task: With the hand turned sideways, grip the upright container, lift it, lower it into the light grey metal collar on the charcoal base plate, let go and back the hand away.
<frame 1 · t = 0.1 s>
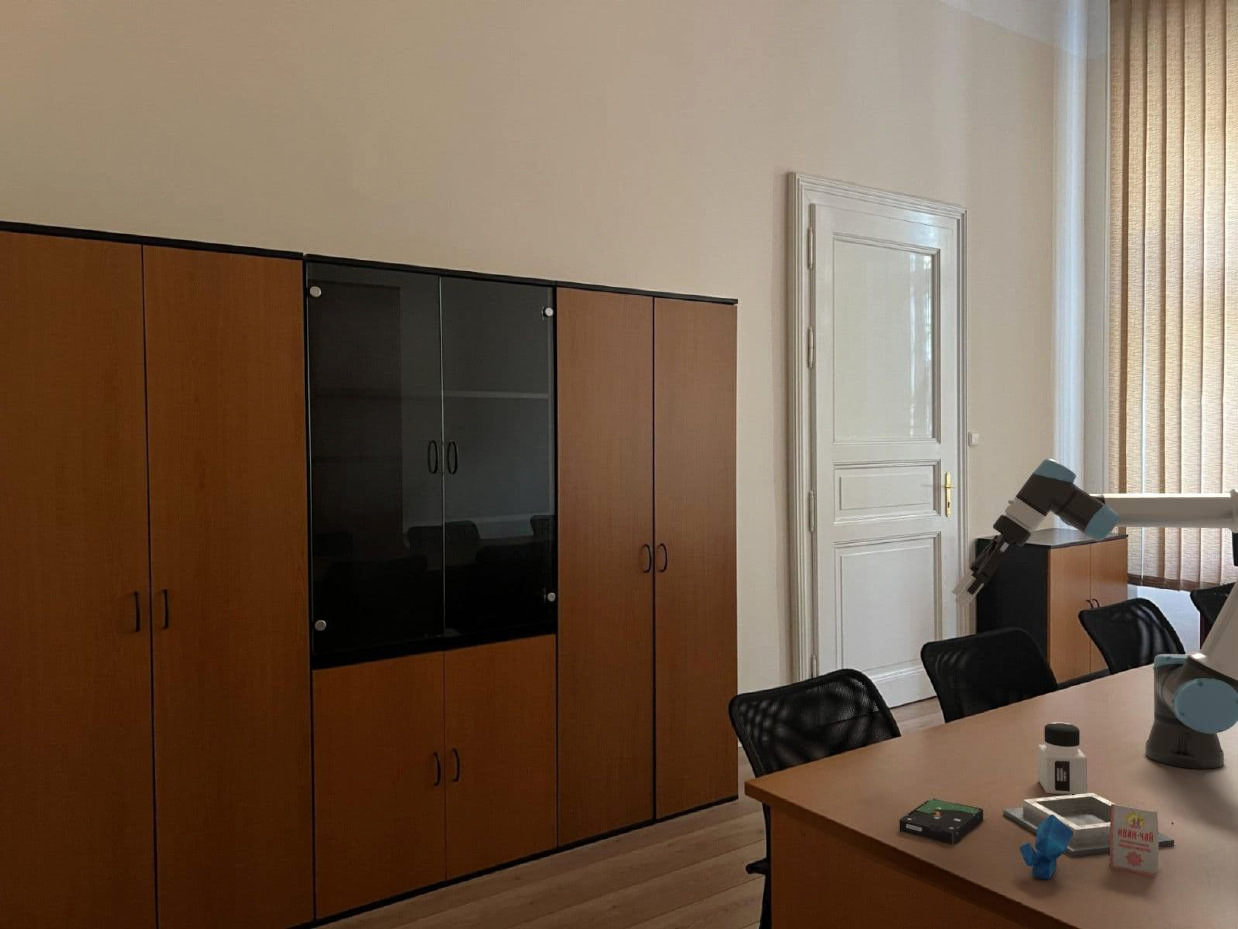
hand: (958, 600, 218), 36 cm above the table, tool tilted 35°, fingers open, 13 cm apart
blue lump: (1046, 873, 161), on the table
tea bag: (1134, 869, 163), on the table
container: (1062, 789, 200), on the table
collar plate: (1085, 829, 179), on the table
disk drive: (941, 829, 182), on the table
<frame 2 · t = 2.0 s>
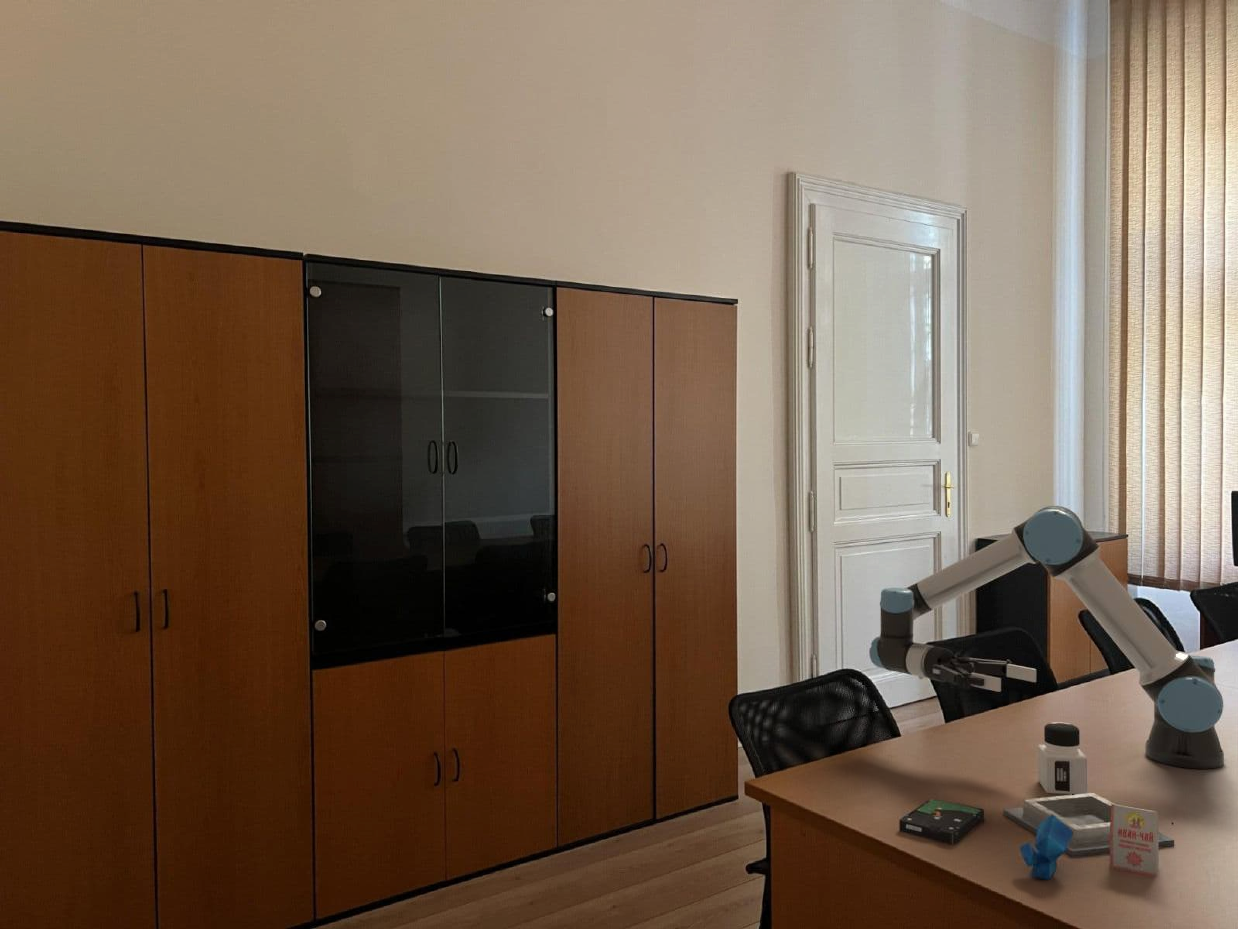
hand: (1018, 680, 208), 20 cm above the table, tool horizontal, fingers open, 13 cm apart
nothing on the table moved.
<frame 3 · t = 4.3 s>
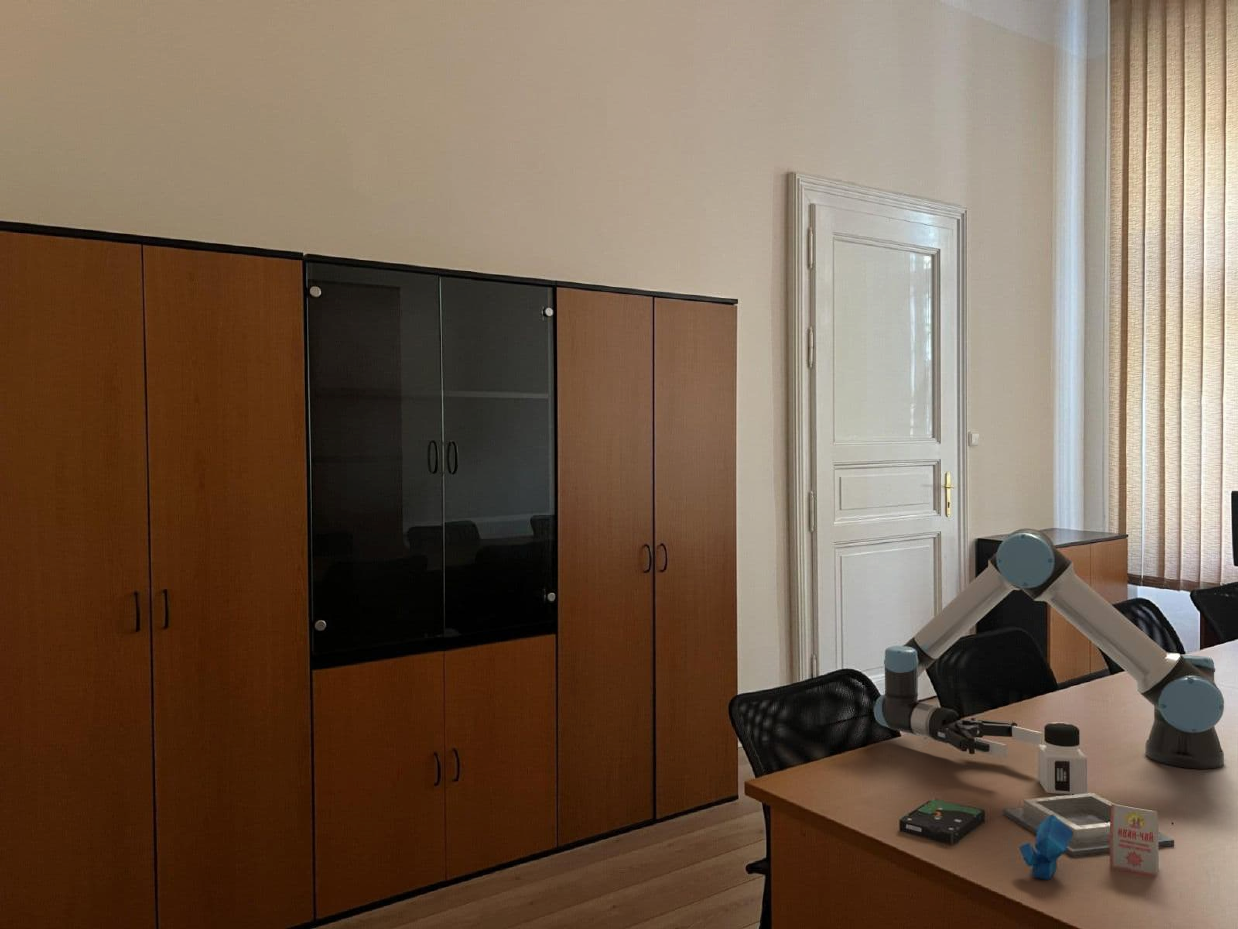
hand: (1023, 745, 207), 7 cm above the table, tool horizontal, fingers open, 13 cm apart
nothing on the table moved.
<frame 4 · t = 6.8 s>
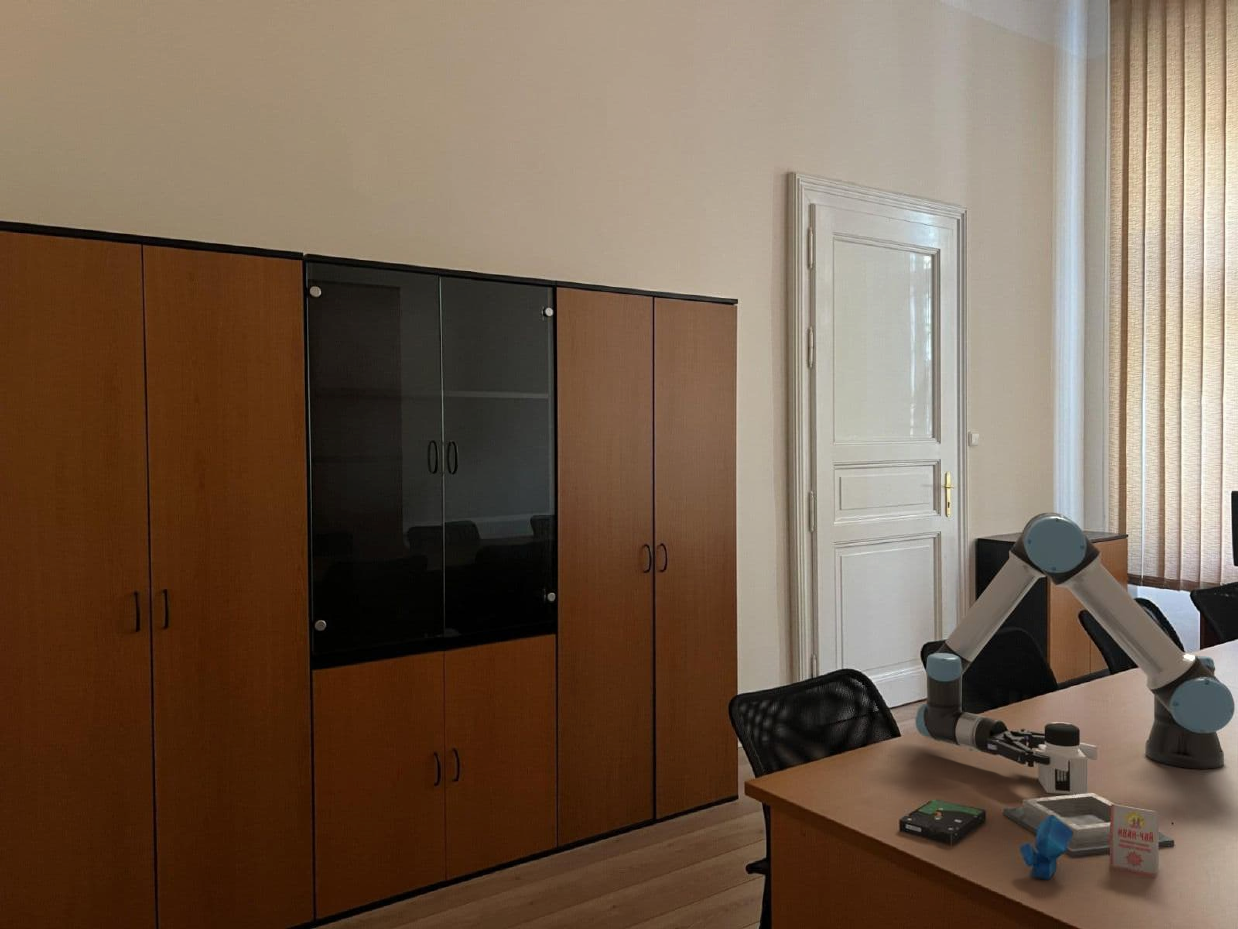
hand: (1081, 758, 197), 7 cm above the table, tool horizontal, fingers closed on container, 10 cm apart
container: (1062, 789, 200), on the table, touching gripper
everything else where it was.
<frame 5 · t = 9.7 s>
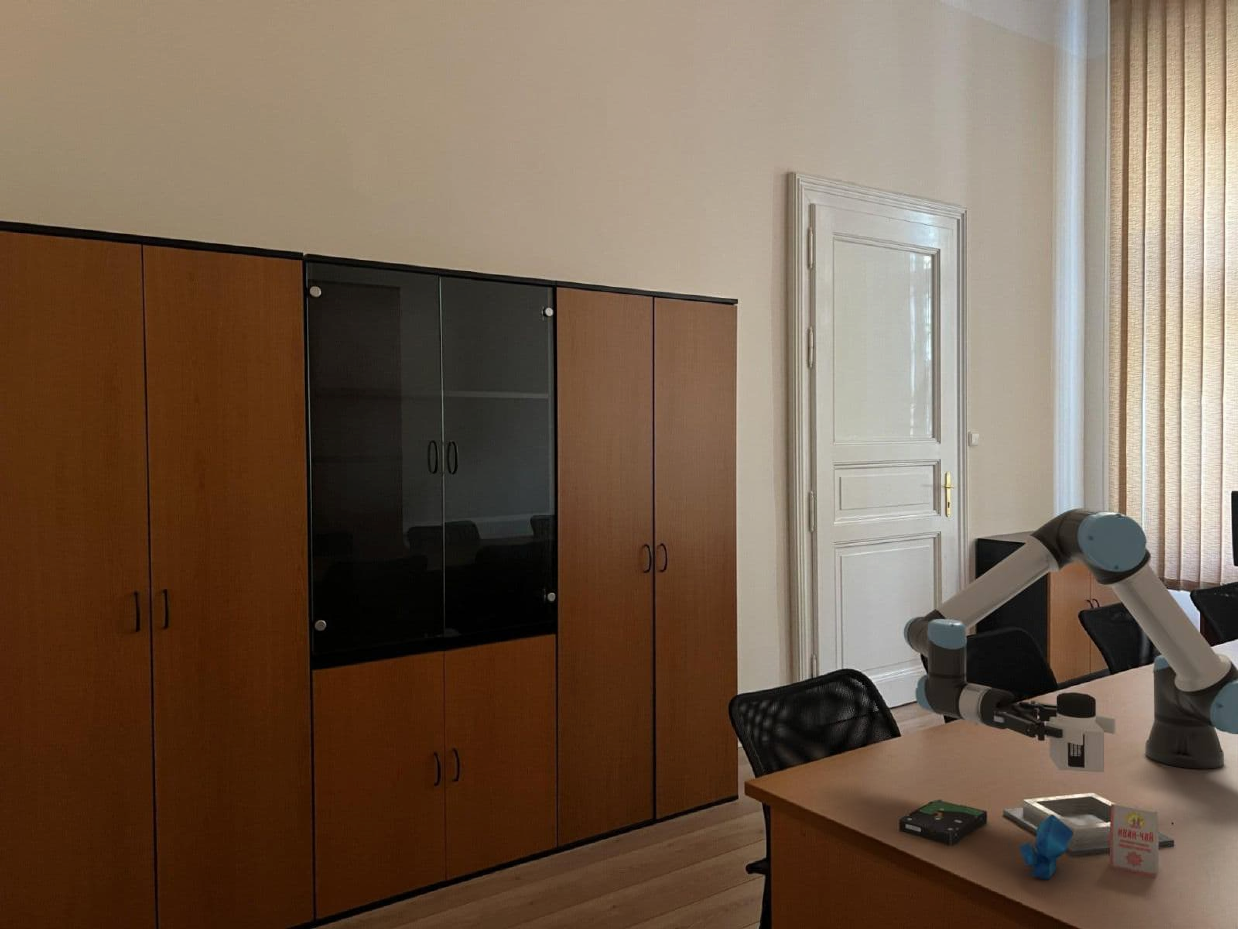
hand: (1098, 732, 177), 18 cm above the table, tool horizontal, fingers closed on container, 10 cm apart
container: (1076, 765, 181), point 11 cm above the table, touching gripper
everything else where it was.
when the fingers open (9 cm above the table, at t = 12.5 s): container drops 1 cm, resting on collar plate.
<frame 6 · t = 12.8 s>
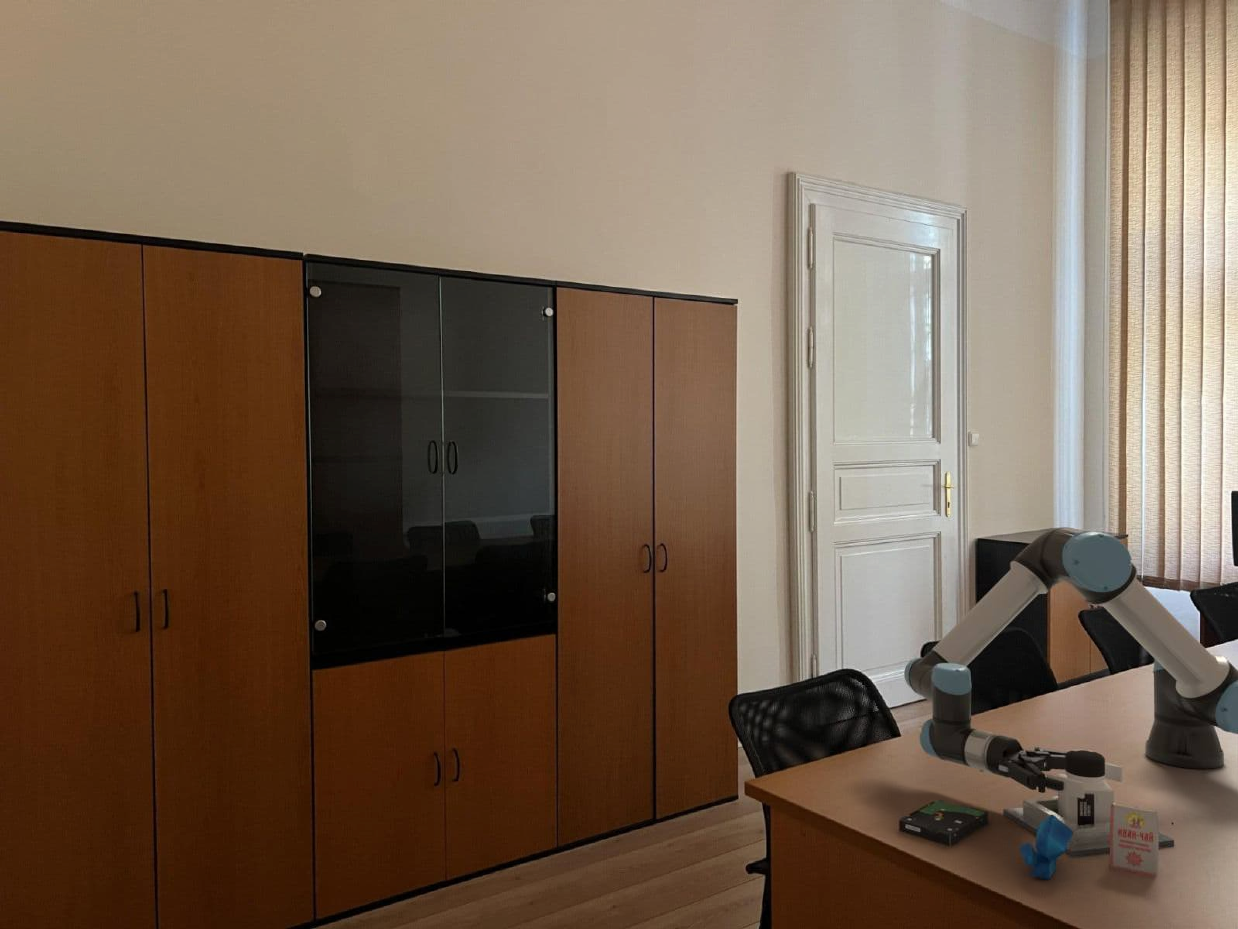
hand: (1103, 782, 176), 9 cm above the table, tool horizontal, fingers open, 13 cm apart
container: (1085, 824, 179), point 1 cm above the table, touching collar plate
everything else where it was.
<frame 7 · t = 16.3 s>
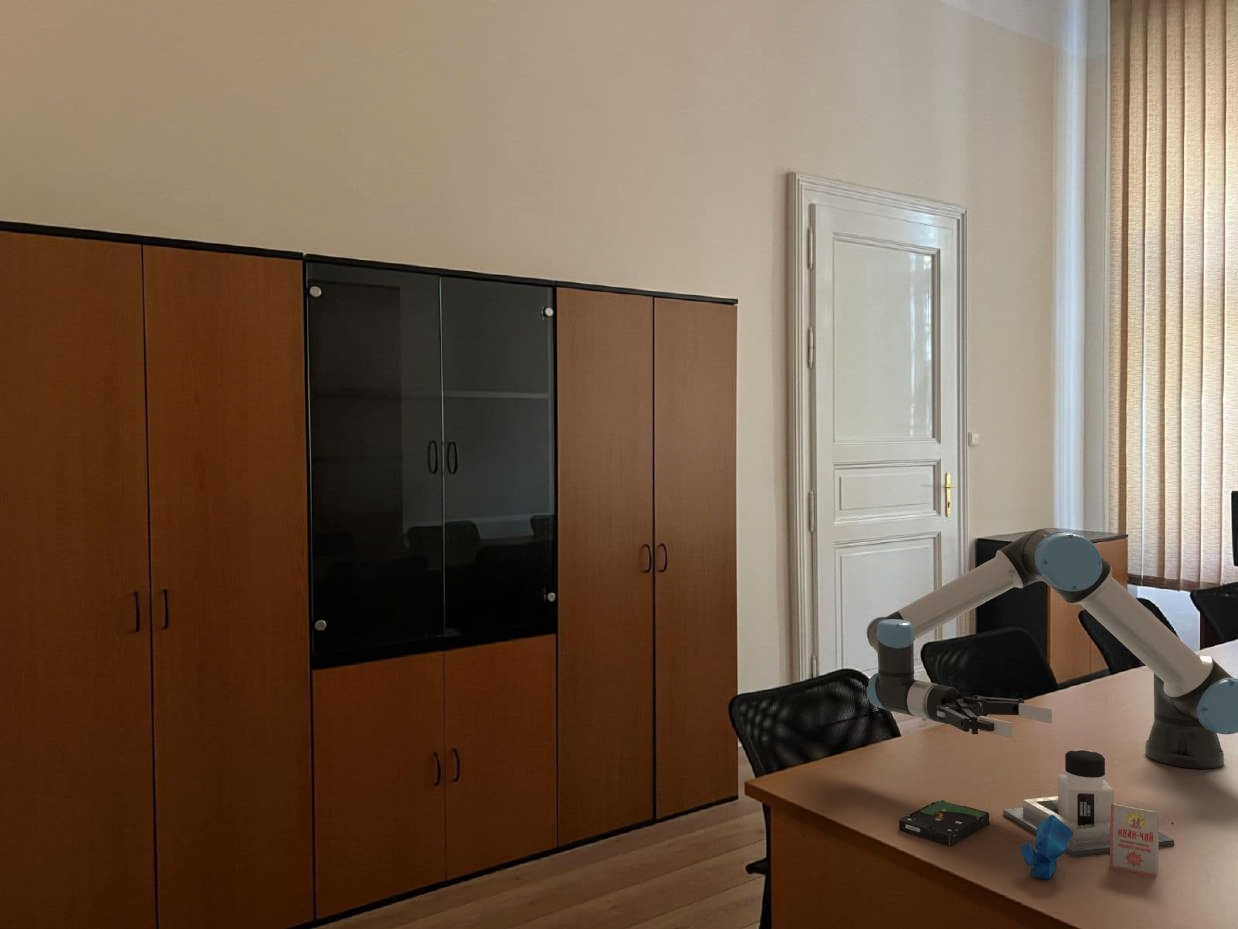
hand: (1032, 723, 186), 17 cm above the table, tool horizontal, fingers open, 13 cm apart
nothing on the table moved.
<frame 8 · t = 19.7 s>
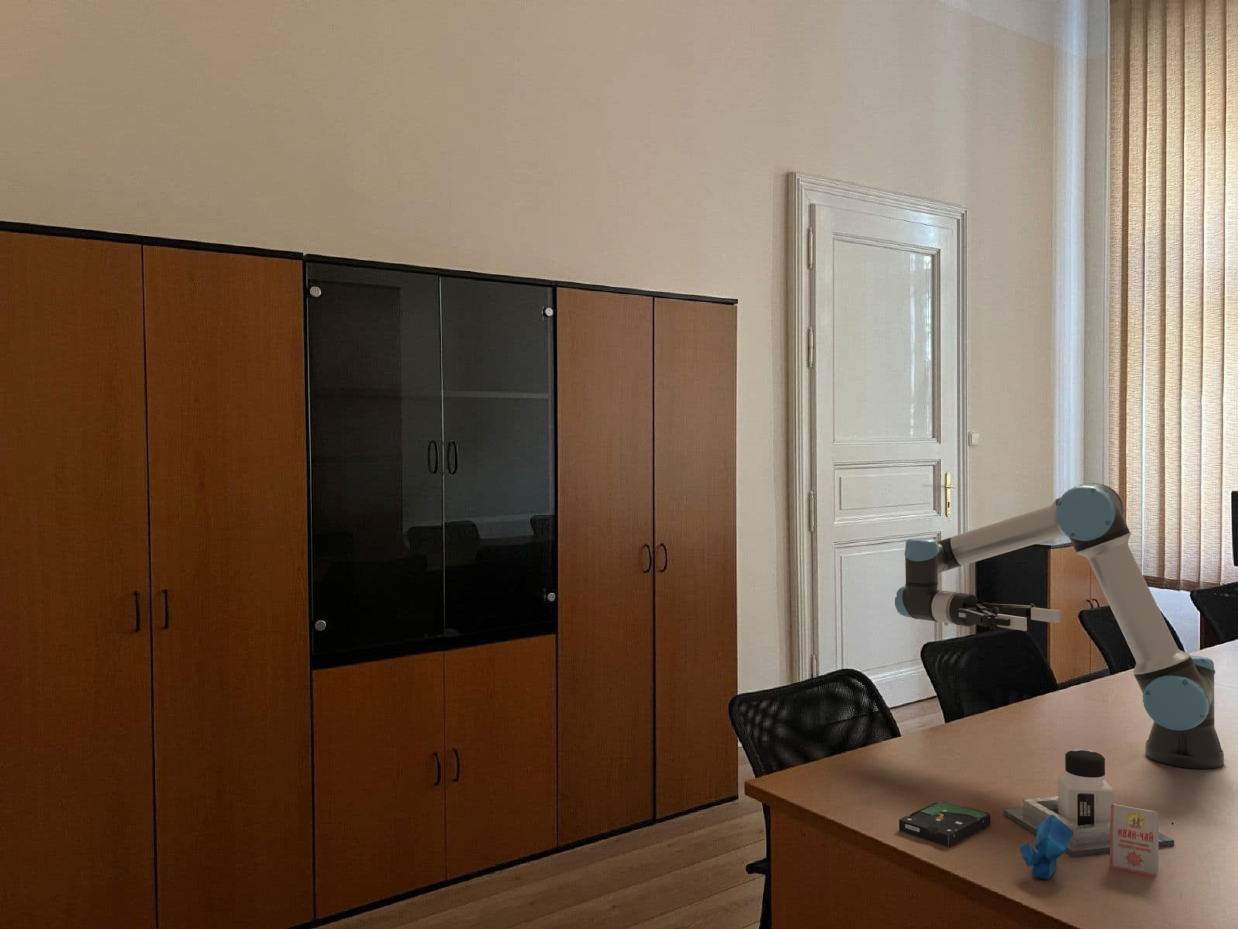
hand: (1043, 620, 213), 32 cm above the table, tool horizontal, fingers open, 13 cm apart
at the end: container 0.3 cm off-centre on the collar plate, point 0.8 cm above the collar plate's base; container tilted 0°; the gripper is holding nothing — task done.
